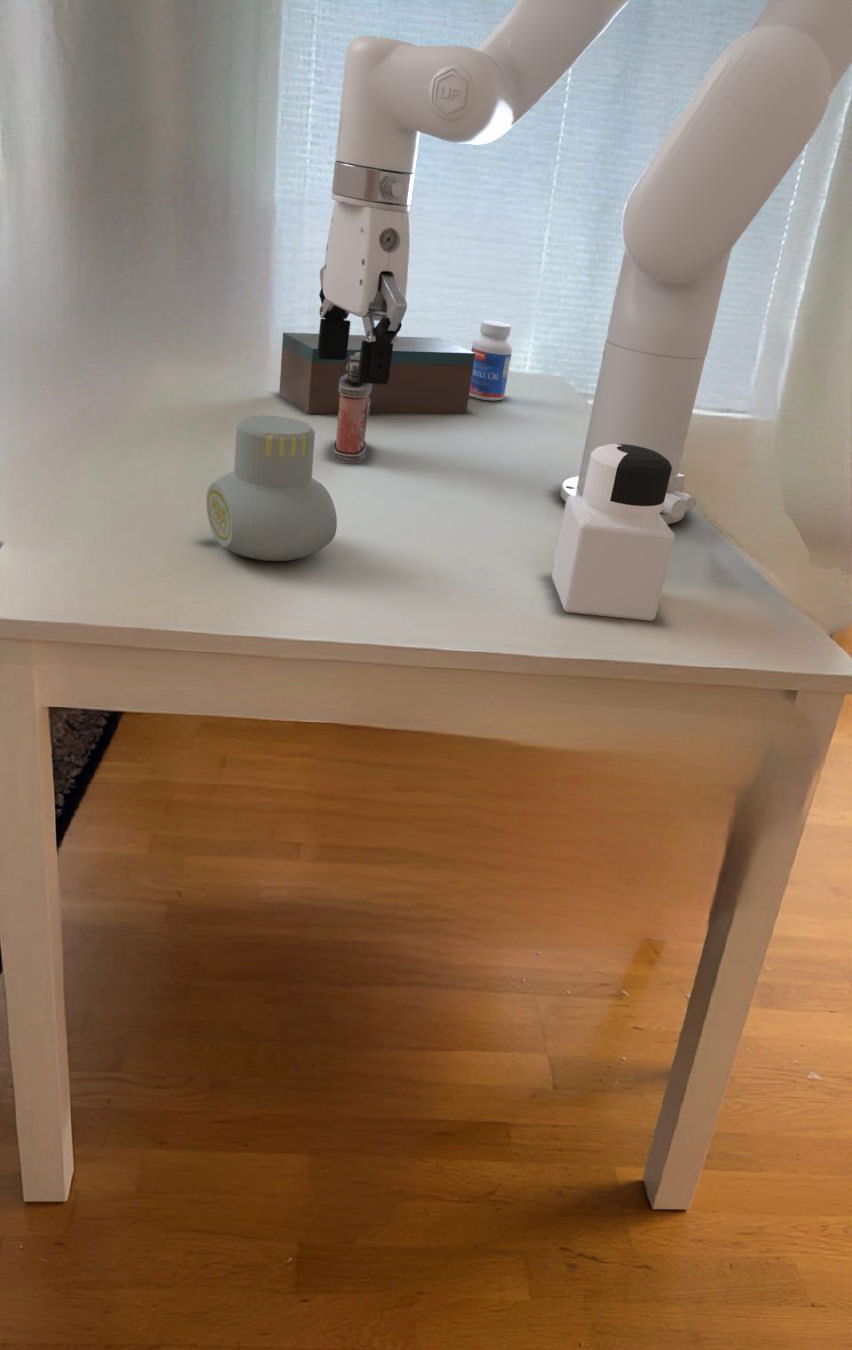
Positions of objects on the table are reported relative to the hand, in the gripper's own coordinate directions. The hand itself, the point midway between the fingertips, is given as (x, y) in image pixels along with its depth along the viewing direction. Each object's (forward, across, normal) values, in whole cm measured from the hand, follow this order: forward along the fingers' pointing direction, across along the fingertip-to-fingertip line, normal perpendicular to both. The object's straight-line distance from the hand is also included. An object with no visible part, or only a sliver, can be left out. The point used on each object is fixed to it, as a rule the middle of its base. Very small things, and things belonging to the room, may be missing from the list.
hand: (351, 370), depth 109 cm
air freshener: (+9, -26, +18) cm, 33 cm away
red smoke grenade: (+9, 0, -1) cm, 9 cm away
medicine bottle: (+8, -40, -4) cm, 41 cm away
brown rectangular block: (+9, +19, -14) cm, 25 cm away
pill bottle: (+8, +23, -33) cm, 41 cm away
